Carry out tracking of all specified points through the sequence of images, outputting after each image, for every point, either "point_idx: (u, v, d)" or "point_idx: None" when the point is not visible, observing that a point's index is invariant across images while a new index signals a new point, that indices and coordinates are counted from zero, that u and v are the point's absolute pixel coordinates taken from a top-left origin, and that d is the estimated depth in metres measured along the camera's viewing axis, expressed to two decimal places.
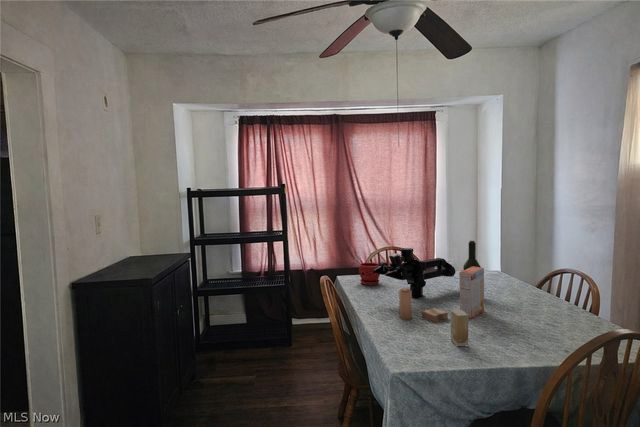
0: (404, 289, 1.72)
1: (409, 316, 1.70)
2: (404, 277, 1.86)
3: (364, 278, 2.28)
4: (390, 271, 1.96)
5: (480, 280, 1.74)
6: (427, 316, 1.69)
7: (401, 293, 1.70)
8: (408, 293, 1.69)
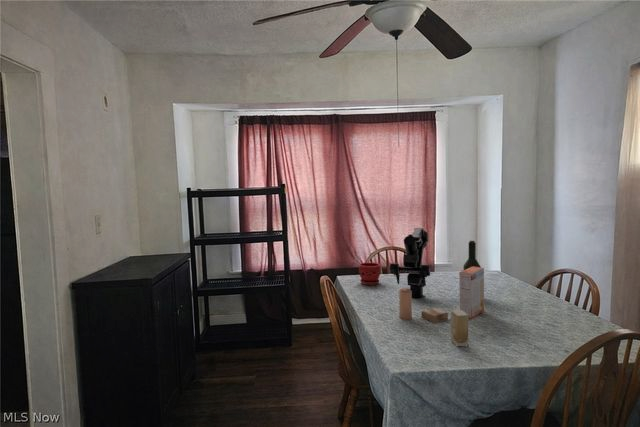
0: (404, 289, 1.72)
1: (409, 316, 1.70)
2: None
3: (364, 278, 2.28)
4: None
5: (480, 280, 1.74)
6: (427, 316, 1.69)
7: (401, 293, 1.70)
8: (408, 293, 1.69)
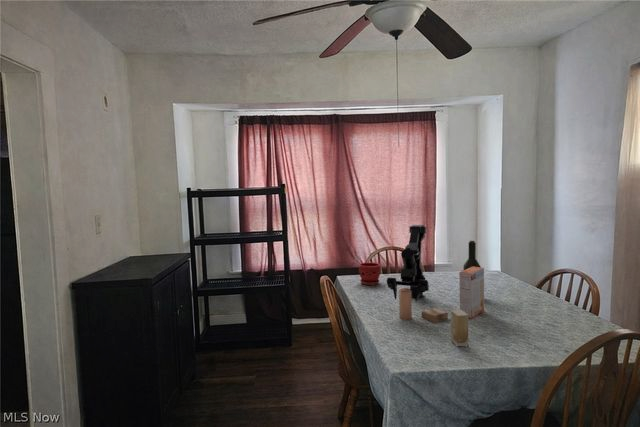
0: (404, 289, 1.72)
1: (409, 316, 1.70)
2: (428, 288, 1.75)
3: (364, 278, 2.28)
4: None
5: (480, 280, 1.74)
6: (427, 316, 1.69)
7: (401, 293, 1.70)
8: (408, 293, 1.69)
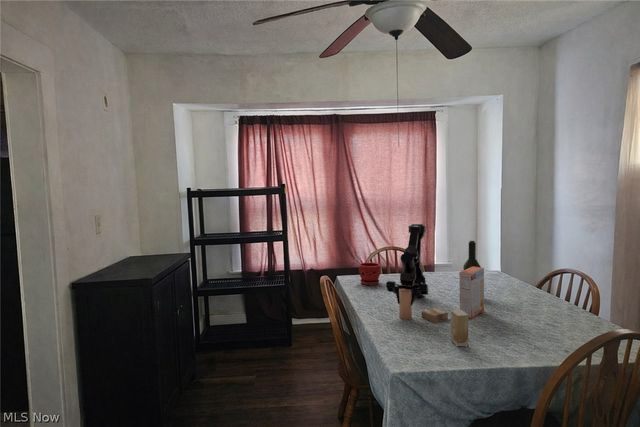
0: (404, 289, 1.72)
1: (409, 316, 1.70)
2: None
3: (364, 278, 2.28)
4: None
5: (480, 280, 1.74)
6: (427, 316, 1.69)
7: (401, 293, 1.70)
8: (408, 293, 1.69)
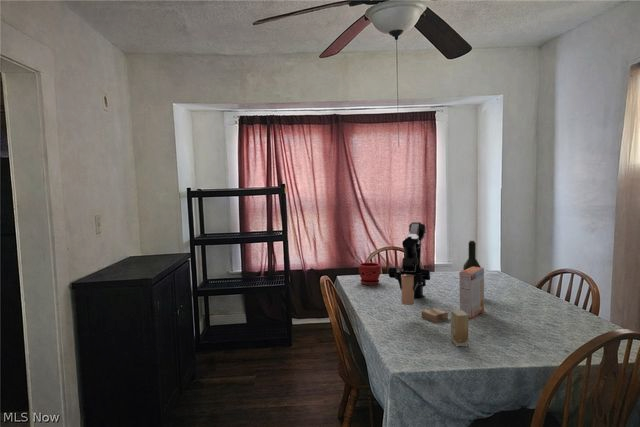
0: (406, 274, 1.71)
1: (411, 301, 1.69)
2: None
3: (364, 278, 2.28)
4: None
5: (480, 280, 1.74)
6: (427, 316, 1.69)
7: (403, 278, 1.69)
8: (410, 278, 1.68)
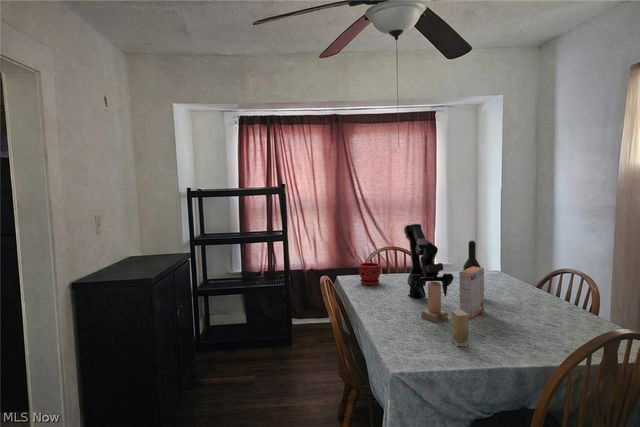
0: (433, 283, 1.70)
1: (440, 309, 1.69)
2: None
3: (364, 278, 2.28)
4: None
5: (480, 280, 1.74)
6: (427, 316, 1.69)
7: (433, 287, 1.68)
8: (439, 286, 1.68)
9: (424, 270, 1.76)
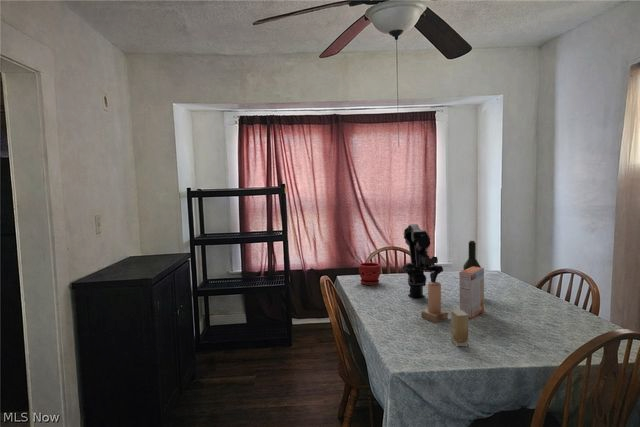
0: (433, 283, 1.70)
1: (440, 309, 1.69)
2: None
3: (364, 278, 2.28)
4: None
5: (480, 280, 1.74)
6: (427, 316, 1.69)
7: (433, 287, 1.68)
8: (439, 286, 1.68)
9: (418, 259, 1.84)
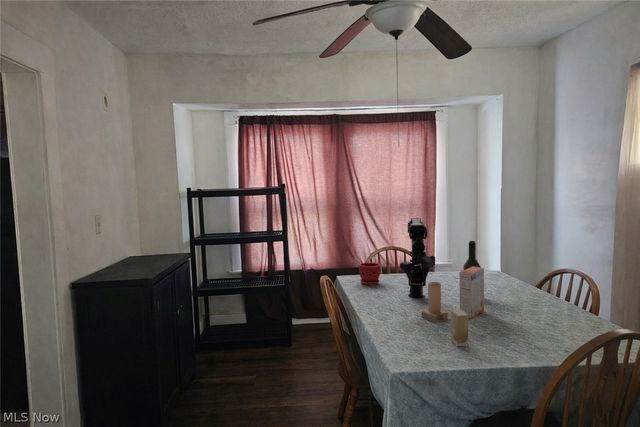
0: (433, 283, 1.70)
1: (440, 309, 1.69)
2: None
3: (364, 278, 2.28)
4: (413, 263, 1.84)
5: (480, 280, 1.74)
6: (427, 316, 1.69)
7: (433, 287, 1.68)
8: (439, 286, 1.68)
9: (415, 256, 1.82)
